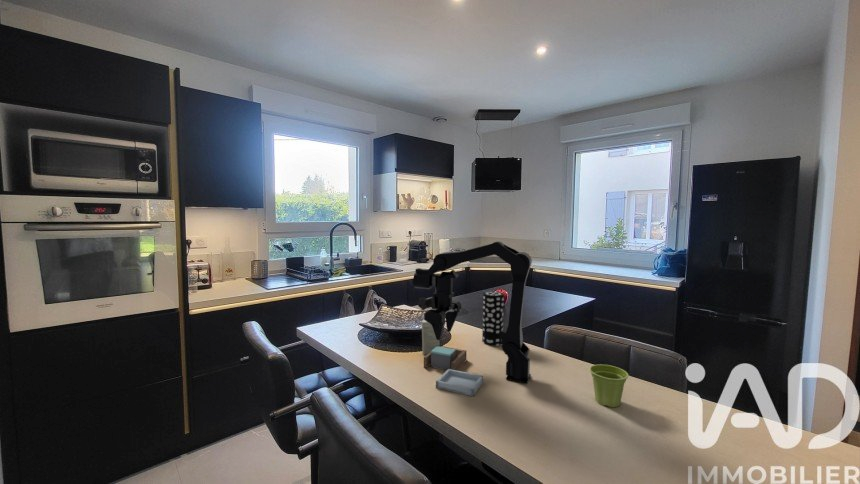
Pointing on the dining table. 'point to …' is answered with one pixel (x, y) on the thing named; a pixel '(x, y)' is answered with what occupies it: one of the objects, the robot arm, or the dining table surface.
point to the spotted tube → (492, 317)
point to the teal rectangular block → (442, 357)
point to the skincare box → (428, 338)
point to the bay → (455, 363)
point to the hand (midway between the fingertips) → (443, 335)
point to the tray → (460, 382)
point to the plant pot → (608, 384)
